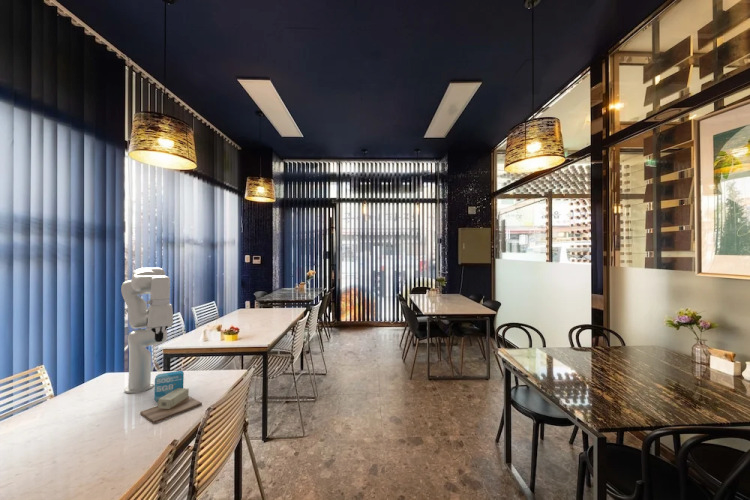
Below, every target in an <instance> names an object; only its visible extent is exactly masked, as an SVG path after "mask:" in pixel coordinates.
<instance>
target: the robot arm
mask: <svg viewBox="0 0 750 500" xmlns="http://www.w3.org/2000/svg"><path fill="white" fill-rule="evenodd" d="M120 288H121V296H122V298H123V300H124V302H125V304H126V307H127V313H128V315H127V316H128V323H129V326H130V328H131V329H135V330H133V331H131V332H129V333H128V335H127V345H128V383H127V384H128V385H127V386H126V387H125V388H124V390H123V391H124V393H126V394H136V393H137V394H138V393H141V392H144V391H148V390H151V389H152V388H154V387H155V382H153V381H151V378H152V374H151V373H152V352H151V351H150V350H149V349H147V347H152V346H157V345H162V344H164V343H165V342H167V341H168V329H169V328H171V327H173V324H174V313H173V312H174V311H173V305H172V304H171V303H170V302H171V301H170V297H171V295H170V294H171V289H170V288H171V278H170V277H169V276H167V275H166V271H165V270H164V269H163V268H161V267H141V268H137V269H135V270H133V273H132V275H131V279H130V280H126V281H123V282H122V285H121V287H120ZM140 295H150V296H149V297H150V299H149V300H147V301H146V300H144V299H143V298H142V297H140Z"/></svg>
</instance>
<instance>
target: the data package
mask: <svg viewBox="0 0 750 500" xmlns="http://www.w3.org/2000/svg"><path fill="white" fill-rule="evenodd" d="M184 375H185V374H184V371H183V370H177V371H170V372H162V373H159V374H158V373H157V375H156V376H155V378H154V395H153V397H154V398H153V399H154V402H158V399H160V398H162V397H163V396H165V395H167V394H168V393H170V392H172V391H174V390H175V389H177V388H184V380H185V379H184V377H185V376H184Z"/></svg>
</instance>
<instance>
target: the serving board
mask: <svg viewBox="0 0 750 500" xmlns="http://www.w3.org/2000/svg"><path fill="white" fill-rule="evenodd" d="M202 406H203V403H202V401H200V400H197V399H195V398H194V397H192V396H190V395H189V396H188V398H186V399H185V400H183V401H181V402H180V403H178V404H177V405H175V406H174V407H172V408H171V409H161V408H158V405H157V406H153V407H151V408H147V409H145V410H142V411H140V412H139V415H140V416H141V417H142V418H144V419H146V420H147V421H149V422H150V423H151V424H152V425H154V424H158V423H160V422H163V421H165V420H167V419H169V418H173V417H176V416H178V415H180V414H183V413H185V412H188V411H190V410H193V409H196V408H199V407H202Z"/></svg>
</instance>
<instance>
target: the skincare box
mask: <svg viewBox="0 0 750 500" xmlns="http://www.w3.org/2000/svg"><path fill="white" fill-rule="evenodd" d="M189 391H190V390H189V388H184V387H183V388H177V389H175V390H174V391H172V392H170V393H168V394H167V395H165V396H163V397H162V398H160V399H158V401H157V406H158V408H161V409H171V408H172V407H174V406H175V405H177V404H178V403H180V402H181V401H183V400H185V399H186V398H188V396H190V395H189V394H190V393H189Z"/></svg>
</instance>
